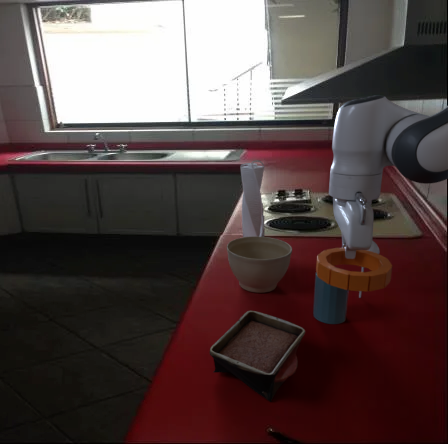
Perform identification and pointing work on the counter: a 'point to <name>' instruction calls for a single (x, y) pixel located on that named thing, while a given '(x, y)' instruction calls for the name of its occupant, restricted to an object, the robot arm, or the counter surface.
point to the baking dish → (259, 351)
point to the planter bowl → (258, 262)
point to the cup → (329, 302)
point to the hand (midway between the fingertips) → (348, 254)
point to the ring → (352, 279)
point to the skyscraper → (252, 200)
